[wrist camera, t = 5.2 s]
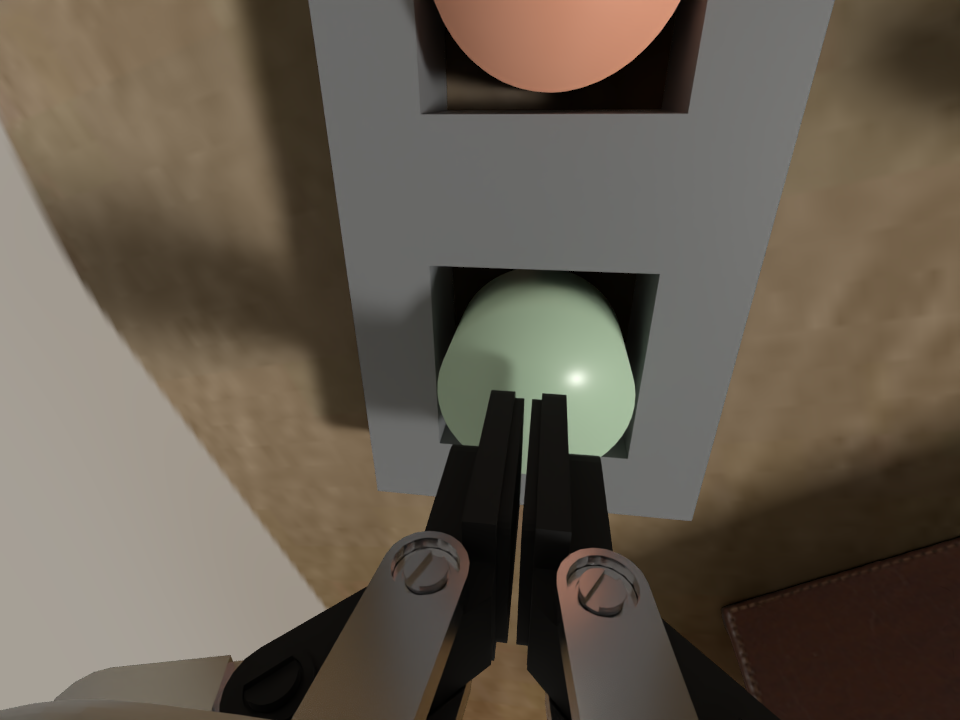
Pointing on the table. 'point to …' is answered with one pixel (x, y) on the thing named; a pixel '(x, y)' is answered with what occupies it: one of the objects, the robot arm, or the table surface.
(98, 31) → the table surface
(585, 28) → the terracotta button
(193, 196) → the table surface
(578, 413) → the sage button
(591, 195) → the button panel
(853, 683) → the letter holder
